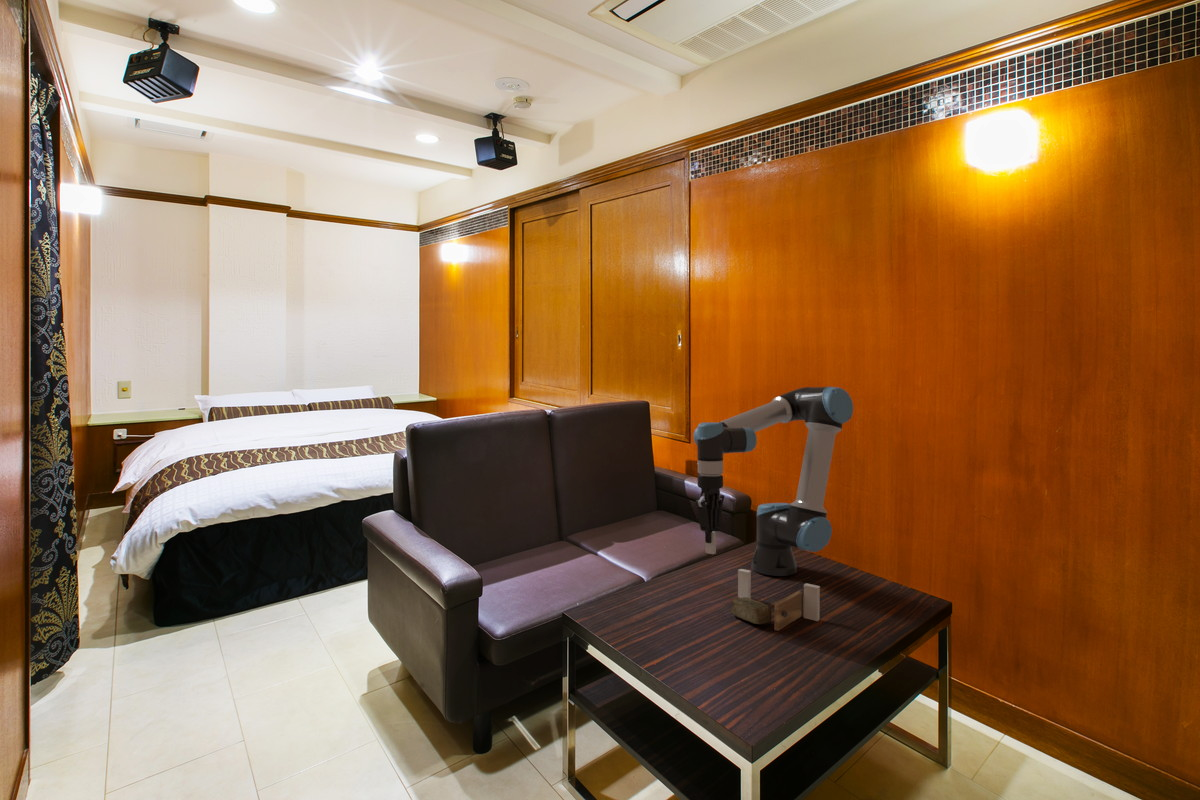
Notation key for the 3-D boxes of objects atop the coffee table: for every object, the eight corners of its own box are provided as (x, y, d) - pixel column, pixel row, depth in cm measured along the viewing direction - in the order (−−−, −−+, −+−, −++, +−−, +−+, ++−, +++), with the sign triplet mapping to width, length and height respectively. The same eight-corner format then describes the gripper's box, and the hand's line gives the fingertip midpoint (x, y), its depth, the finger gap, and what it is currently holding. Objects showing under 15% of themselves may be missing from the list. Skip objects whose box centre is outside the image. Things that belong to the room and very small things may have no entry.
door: (774, 630, 160) (774, 603, 160) (799, 614, 172) (799, 589, 171) (783, 633, 158) (783, 605, 158) (808, 616, 170) (808, 591, 170)
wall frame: (740, 598, 185) (740, 568, 184) (819, 619, 168) (820, 586, 168) (737, 600, 183) (737, 570, 183) (817, 621, 167) (817, 588, 166)
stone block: (758, 626, 160) (757, 608, 160) (730, 615, 170) (729, 598, 171) (773, 622, 163) (772, 604, 163) (745, 612, 173) (744, 595, 173)
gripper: (710, 470, 182) (710, 546, 182) (687, 475, 172) (688, 555, 172) (732, 472, 177) (732, 550, 177) (709, 478, 167) (710, 560, 167)
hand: (710, 552), depth 175 cm, fingers closed
